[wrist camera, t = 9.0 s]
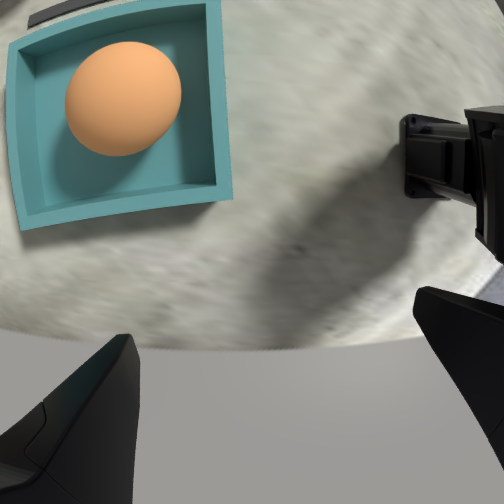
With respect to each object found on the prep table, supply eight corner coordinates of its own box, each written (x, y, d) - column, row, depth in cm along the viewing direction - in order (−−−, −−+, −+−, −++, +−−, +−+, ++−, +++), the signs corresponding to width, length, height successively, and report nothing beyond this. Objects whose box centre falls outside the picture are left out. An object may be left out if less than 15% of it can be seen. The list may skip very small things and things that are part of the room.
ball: (189, 140, 17) (219, 53, 12) (120, 200, 13) (130, 93, 8) (118, 100, 17) (131, 19, 12) (47, 147, 13) (40, 52, 8)
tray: (216, 12, 14) (220, -9, 11) (227, 190, 19) (233, 199, 16) (31, 53, 13) (9, 43, 10) (43, 217, 17) (20, 231, 14)
